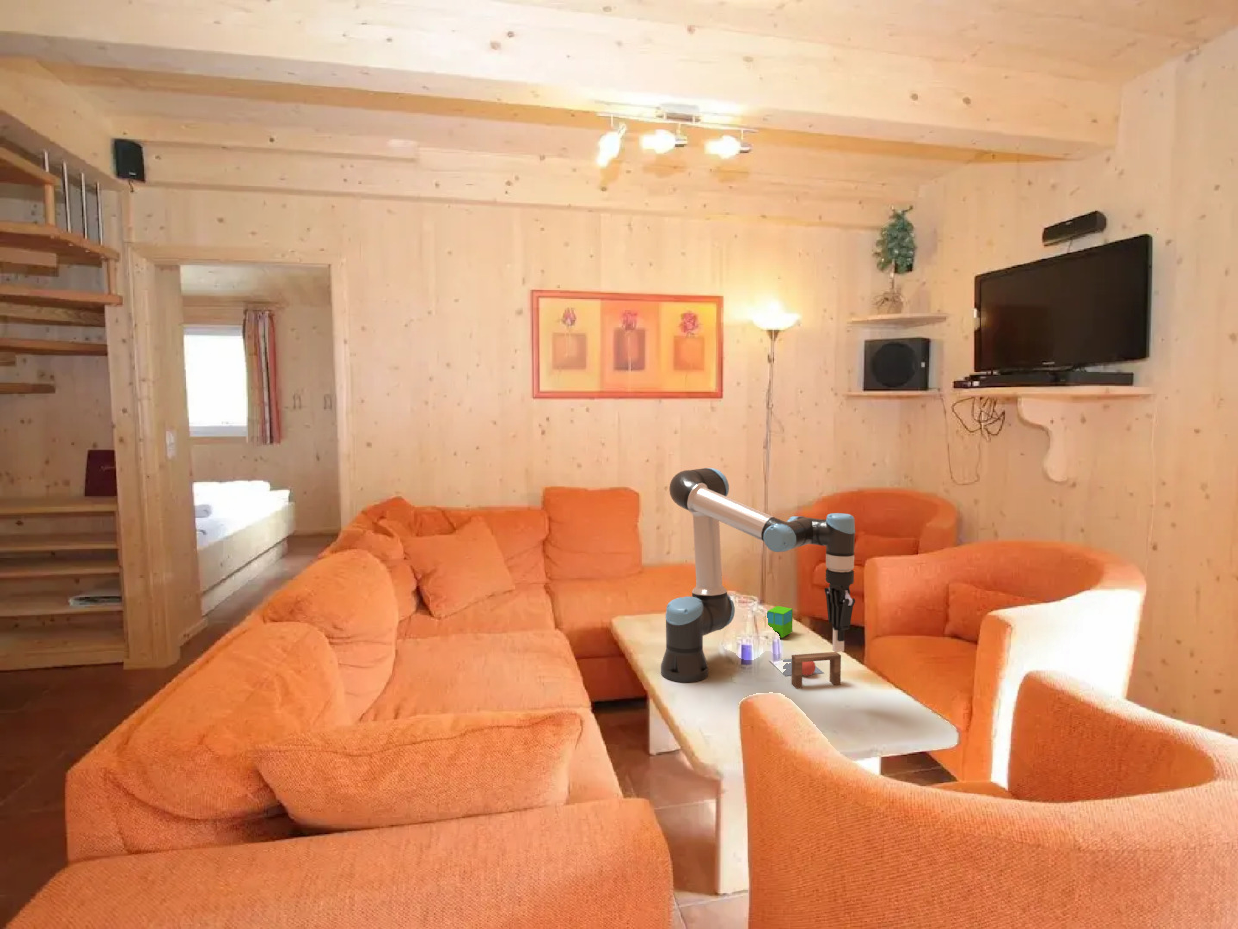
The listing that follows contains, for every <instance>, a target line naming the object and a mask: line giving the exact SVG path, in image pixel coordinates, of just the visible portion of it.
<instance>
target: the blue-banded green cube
mask: <svg viewBox="0 0 1238 929" xmlns="http://www.w3.org/2000/svg"><path fill="white" fill-rule="evenodd" d="M793 612H794V610H793V608H791V607H785V606H780V605H775V607H772V608H771V609H769V610H767V611H766V614H767V618H768V625H769V626H770V627H772V628H773V630H774V631H775V632H777V633H778V634H779V636H780V639H781V638H782V639H783V638H784V637H787V636H788V635H790V634H791V633H792V632H793Z"/></svg>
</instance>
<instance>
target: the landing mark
mask: <svg viewBox="0 0 1238 929" xmlns="http://www.w3.org/2000/svg"><path fill="white" fill-rule="evenodd" d="M783 662H791V663H789V664H788V663H786V664H785V665H784V666H783V669H786V670H785V671H784V672H783V674H782V675H783V676H784V675H785V676H784V677H792V658H785V659H784V660H783ZM820 674H821V675H822V674H825V673H824V671H823V670H821V669H820V668H819V667H817V666H816V665H815V671H814V673H813V674H812V675H820ZM802 676H804V675H803V674H802Z"/></svg>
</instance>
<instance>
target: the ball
mask: <svg viewBox="0 0 1238 929" xmlns="http://www.w3.org/2000/svg"><path fill="white" fill-rule="evenodd" d="M815 666H816V663H815V661H810V662H802V674H803V675H802V676H807V677H808V676H810V675H811V676H812V675H814V674H813V673H814V671H815Z"/></svg>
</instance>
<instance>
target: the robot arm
mask: <svg viewBox="0 0 1238 929" xmlns="http://www.w3.org/2000/svg"><path fill="white" fill-rule="evenodd" d="M729 492H730V485H729V481H728V479H727V477H726V475H724V474H723V472H721V470H719V469H717V468H712V467H711V468H709V467H708V468H707V467H704V468H696V469H687V470H682V471H680V472H678V473H676V474H675V475H674V476H673V477H672V478H671V481H670V483H669V495H670V497H671V500H673V502H674V503H675V504H676V505H677V506H679V507H681V508H682V509H684V510H687V511H688V512H690V513H691V515H692V521H693V522H692V524H693V525H692V526H693V527H692V528H693V542H694V544H693V545H694V561H695V562H694V563H695V564H694V566H695V581H696V585H695V586H694V588H693V589H692V591H691V595H692V596H684V597H683V596H680V597H677V598H674V599H671V600H670V601H669V602H668V604H667V605H666V610H665V651H664V655H663V658H662V661H661V663H660V674H661V676H662V677H664V678H665V679H667V680H670V681H673V682H677V683H693V682H698V681H702V680H705V679H706V678H707V677H708V675H709V665H708V662H707V659H706V655H705V653H704V648H703V647H704V645H703V644H704V643H703V642H704V638H703V637H704V636H707V635H710V634H712V633H714V632H717V631H721V630H723V629H724V628H725V627H727V626H729V625H730V623H732V621H733V620H734V617H735V612H736V610H735V609H736V608H735V603H734V600H732V597H731V596H730V595H729V594H728V590H727V588H726V587H724V585H723V578H722V576H723V575H722V573H723V572H722V556H721V555H722V554H721V553H722V552H721V535H720V531H721V530H720V522H721V523H723V524H725V525H727V526H728V527H732V528H734V529H736V530H738V531H740V532H743V533H744V534H747V535H749V536H751V537H752V538H756V539H757V540H760V541H762V542H764V544H765V545H766V547H767V548H768V549H769V551H772V552H774V553H775V552H776V553H783V552H788V551H790V550H792V549H796V548H799V547H803V546H807V545H816V546H822V547H823V546H824V547H825V567H826V569H825V582H826V583H828V584H829V586H828V587H824V592H825V600H826V609H827V621H828V623H829V624H831V627H832V652H837V653H840V652H841V653H843V652H845V630H850V628H851V627H850V626H851V622H852V614H853V609H854V605H855V603H856V599H855V598H854V597H853V598H852V596H851V595H850V594H851V590H850V586H851V585H853V584H854V583H855V571H854V568H855V559H856V557H855V542H856V541H855V538H856V536H855V535H856V529H855V528H856V527H855V526H856V524H855V523H856V522H855V517H854V516H853V515H852V514H849V513H840V512H836V513H835V512H834V513H833V512H832V513H829V514H827V515H826V519H822V518H813V517H809V516H808V517H806V516H802V515H801V516H797V515H796V516H795V515H793V516H791V517H789V518H788V520H786V521H784V520H783V519H779V518H777V517H775V516H772V515H771V514H768V513H765V512H764V511H761V510H758V509H756V508H753V507H751V506H749V505H747V504H745V503H742V502H740V501H737V500H735V499H733V498H730V497H728V494H729Z"/></svg>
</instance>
